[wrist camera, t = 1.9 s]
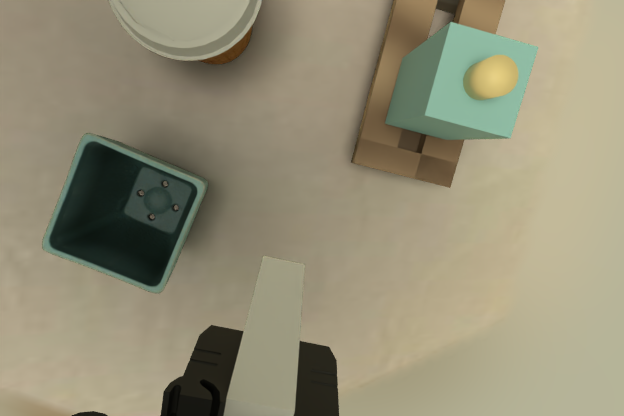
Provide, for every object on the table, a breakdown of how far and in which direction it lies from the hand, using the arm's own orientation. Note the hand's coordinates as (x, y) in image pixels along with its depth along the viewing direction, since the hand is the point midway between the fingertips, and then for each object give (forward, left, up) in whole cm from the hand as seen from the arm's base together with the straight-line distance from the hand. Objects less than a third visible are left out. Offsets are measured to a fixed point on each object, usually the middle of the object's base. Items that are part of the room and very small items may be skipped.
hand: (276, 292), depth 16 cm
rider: (-2, +14, -20) cm, 24 cm away
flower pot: (-6, -9, -24) cm, 27 cm away
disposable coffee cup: (-16, +3, -24) cm, 29 cm away
